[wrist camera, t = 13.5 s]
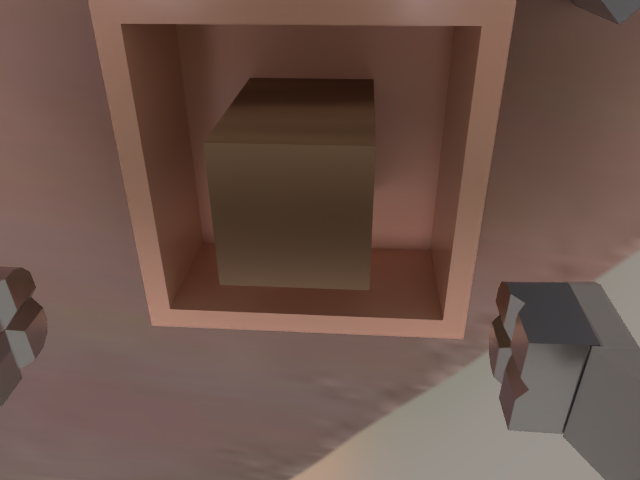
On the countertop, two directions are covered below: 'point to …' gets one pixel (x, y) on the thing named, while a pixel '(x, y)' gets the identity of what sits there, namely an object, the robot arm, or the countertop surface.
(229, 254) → the block
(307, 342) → the countertop surface
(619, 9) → the tray
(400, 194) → the peach open box
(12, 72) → the countertop surface
